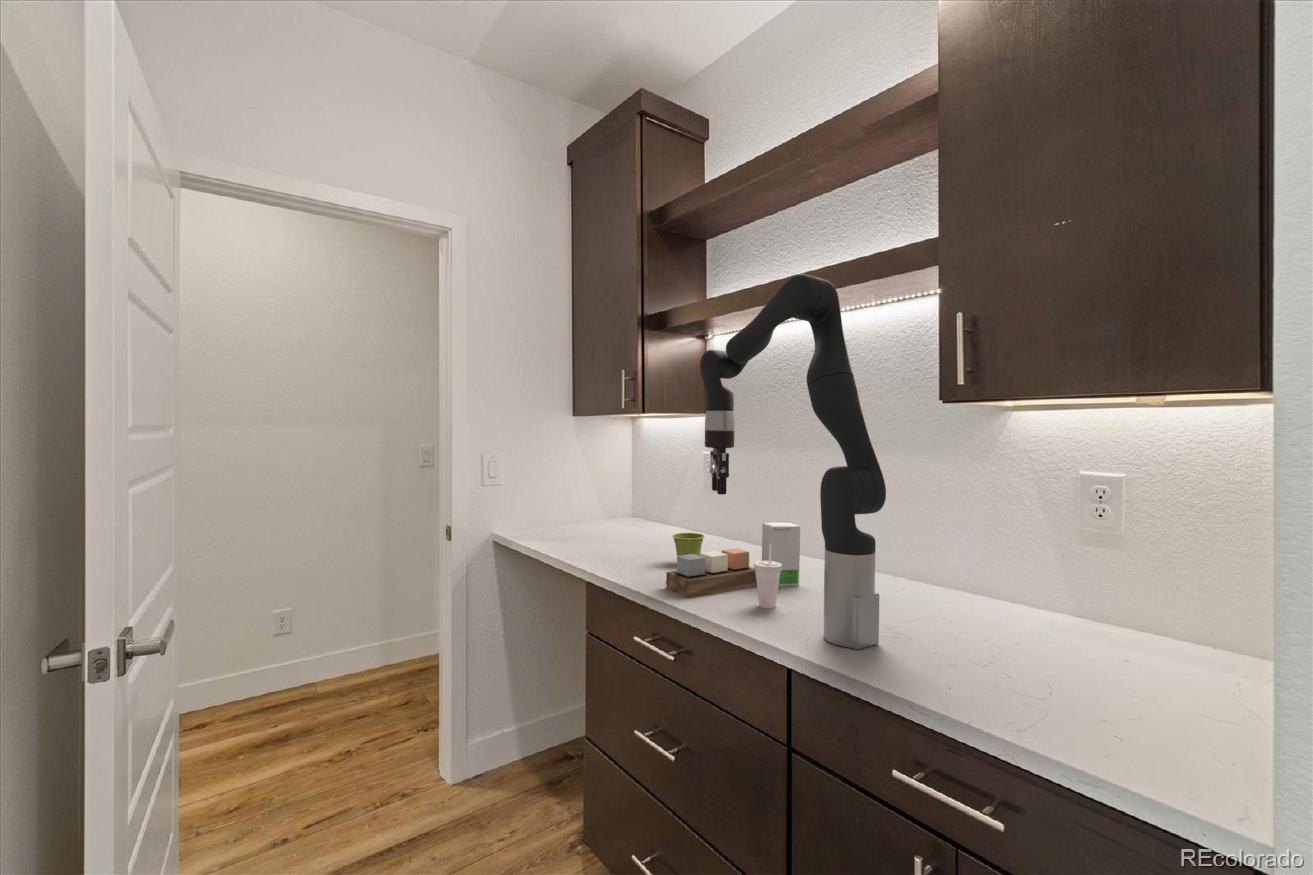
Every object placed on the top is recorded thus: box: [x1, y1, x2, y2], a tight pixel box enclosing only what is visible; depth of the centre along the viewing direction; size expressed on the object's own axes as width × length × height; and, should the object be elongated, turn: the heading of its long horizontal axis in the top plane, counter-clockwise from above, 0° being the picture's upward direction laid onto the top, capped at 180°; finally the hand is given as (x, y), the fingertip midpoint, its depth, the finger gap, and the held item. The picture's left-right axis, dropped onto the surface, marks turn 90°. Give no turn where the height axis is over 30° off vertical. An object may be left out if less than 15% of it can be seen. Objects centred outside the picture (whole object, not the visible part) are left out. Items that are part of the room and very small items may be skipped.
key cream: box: [700, 550, 728, 573], centre depth 150 cm, size 5×5×4 cm
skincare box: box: [761, 522, 801, 588], centre depth 154 cm, size 8×7×16 cm
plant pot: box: [671, 532, 705, 557], centre depth 174 cm, size 9×9×9 cm
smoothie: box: [753, 545, 782, 610], centre depth 134 cm, size 6×6×14 cm
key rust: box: [721, 548, 750, 569], centre depth 154 cm, size 5×5×4 cm
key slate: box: [676, 554, 705, 576], centre depth 146 cm, size 5×5×4 cm
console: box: [665, 566, 757, 599], centre depth 150 cm, size 10×22×4 cm, turn 121°
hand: (718, 492), depth 151 cm, fingers open, 8 cm apart
